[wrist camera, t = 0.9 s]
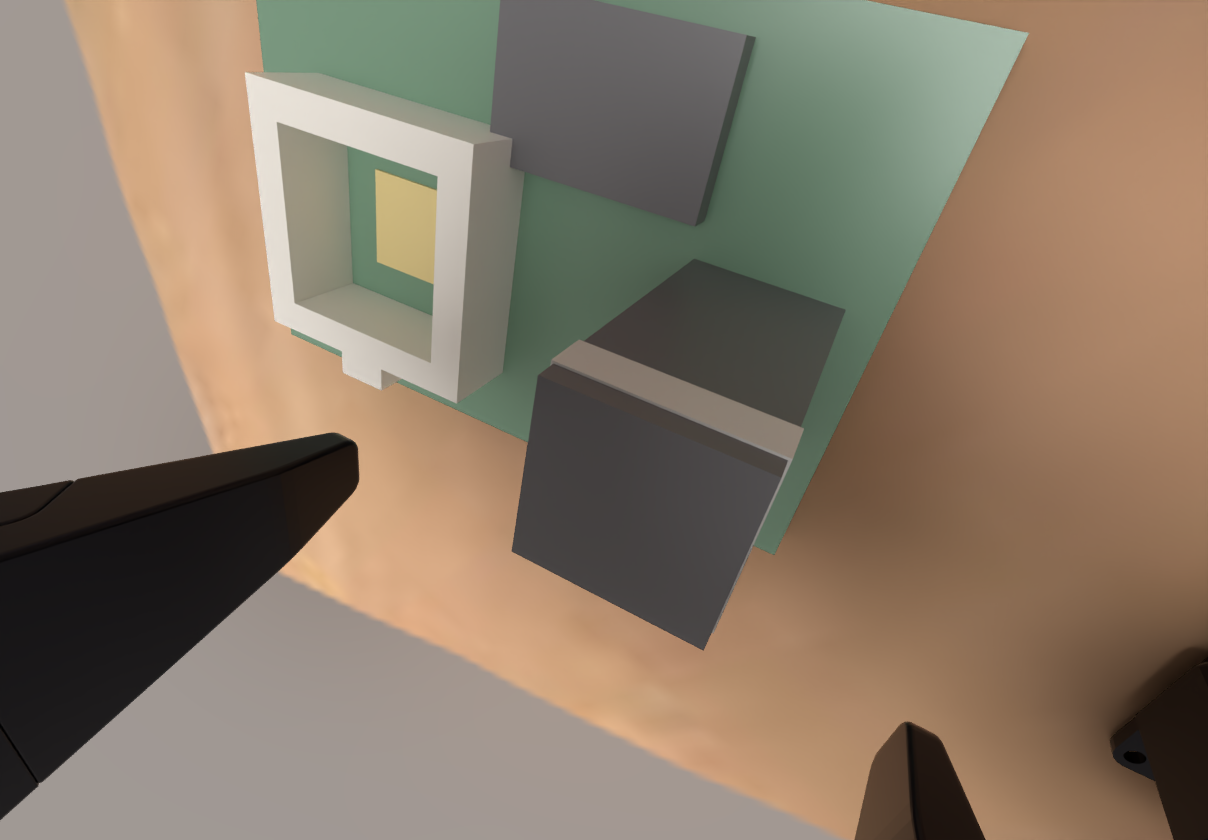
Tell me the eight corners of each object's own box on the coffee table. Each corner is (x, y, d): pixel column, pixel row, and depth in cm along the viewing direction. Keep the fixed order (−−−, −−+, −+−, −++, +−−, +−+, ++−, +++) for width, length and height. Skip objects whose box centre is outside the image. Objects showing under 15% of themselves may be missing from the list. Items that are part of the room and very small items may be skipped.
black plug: (848, 308, 15) (786, 476, 9) (789, 442, 17) (705, 654, 11) (692, 256, 16) (535, 371, 10) (656, 388, 18) (508, 552, 12)
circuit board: (1022, 36, 12) (1048, 23, 9) (781, 532, 20) (755, 609, 17) (280, -114, 18) (150, -152, 15) (315, 324, 25) (234, 356, 22)
